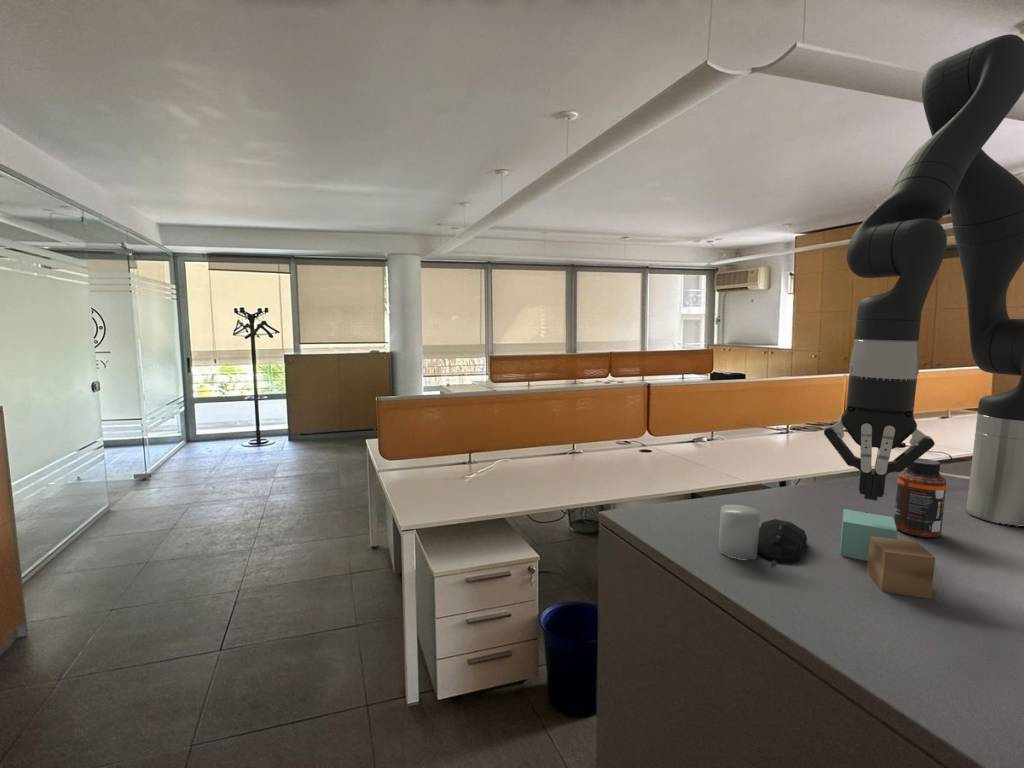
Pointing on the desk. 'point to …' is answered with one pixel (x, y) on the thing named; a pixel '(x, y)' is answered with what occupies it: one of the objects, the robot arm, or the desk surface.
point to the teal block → (863, 532)
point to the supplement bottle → (920, 499)
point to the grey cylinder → (739, 531)
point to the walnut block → (901, 566)
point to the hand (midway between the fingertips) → (870, 498)
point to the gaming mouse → (781, 542)
